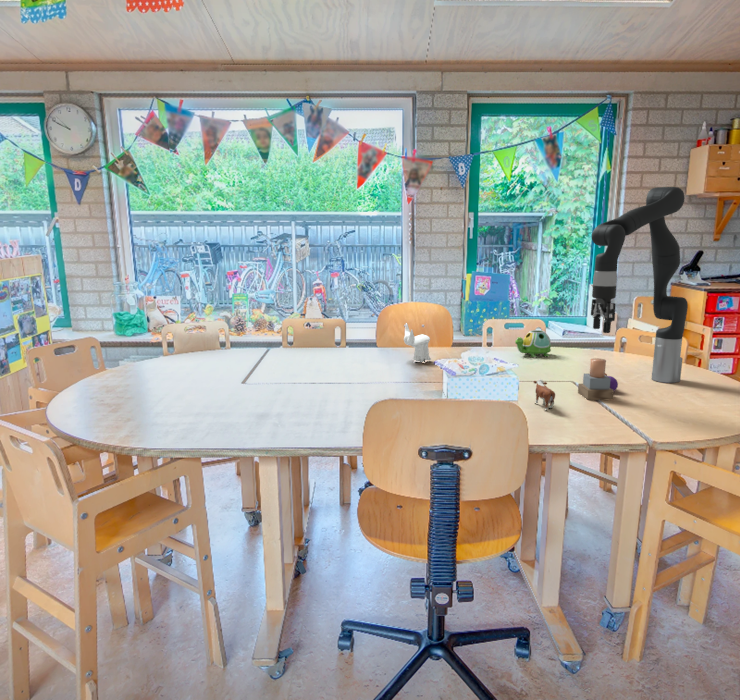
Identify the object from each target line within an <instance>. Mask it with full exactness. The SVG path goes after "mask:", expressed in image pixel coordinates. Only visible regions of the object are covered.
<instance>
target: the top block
mask: <svg viewBox="0 0 740 700" xmlns="http://www.w3.org/2000/svg"><path fill="white" fill-rule="evenodd" d="M608 376H609V375H607V376H606V375H605V377H604V378H594V377H590V373H583V376H582V377H583V379H582V384H583V385H585V386H586V387H587V388H588V389H610V380H611V378H609V377H608Z"/></svg>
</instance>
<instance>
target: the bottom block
mask: <svg viewBox="0 0 740 700" xmlns="http://www.w3.org/2000/svg"><path fill="white" fill-rule="evenodd" d="M577 387H578V388H577V394H578V395H580V396H581V395H582V396H581V397H582V398H584V399H585V398H586V399H585V400H587V401H600V400H599V399H613V400H614V393H615V391H614V390H613V389H611V388H610V389H588V388H587V387H586V386H585V385H583V383H578V385H577Z"/></svg>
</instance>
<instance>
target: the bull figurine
mask: <svg viewBox="0 0 740 700" xmlns="http://www.w3.org/2000/svg"><path fill="white" fill-rule="evenodd" d="M533 384H534V385H535V384H536V386H535V387H536V388H535V397H536V398H535V402H536V403H539V402H538V401H539V398H540V399H541V400H542V405H543V404H545V408H544V409H546V410H547V411H548V409H549V408H552V409H553V407H554V405H555V399H556V393H555V391H553V389H551V388H549V387H547V384H548V382H546V381H545V382H544V380H543V379H538V380H534V381H533Z"/></svg>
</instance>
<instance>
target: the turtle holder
mask: <svg viewBox="0 0 740 700" xmlns="http://www.w3.org/2000/svg"><path fill="white" fill-rule="evenodd" d="M515 344H516V348H517V350H518V352H520V353H521V354H524V353H527V354H530V357H531V358H533V357H537V358H538V356H537V354H539V355H543V357H545V356H547V357H548V356H549V357H550V354H548V353H550V352H551V351H552V349H551V348H552V342H551V338H550V337H549V335H548V334H547V332H546V331H545V330H542V329H538V330H537V329H536V330H534V329H533V330H532V329H531V330H529V331H528V333H527V334H525V336H524V338H522V337H520V336H518V337H517V338H516V340H515ZM547 357H546V358H547ZM549 357H548V358H549Z"/></svg>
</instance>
